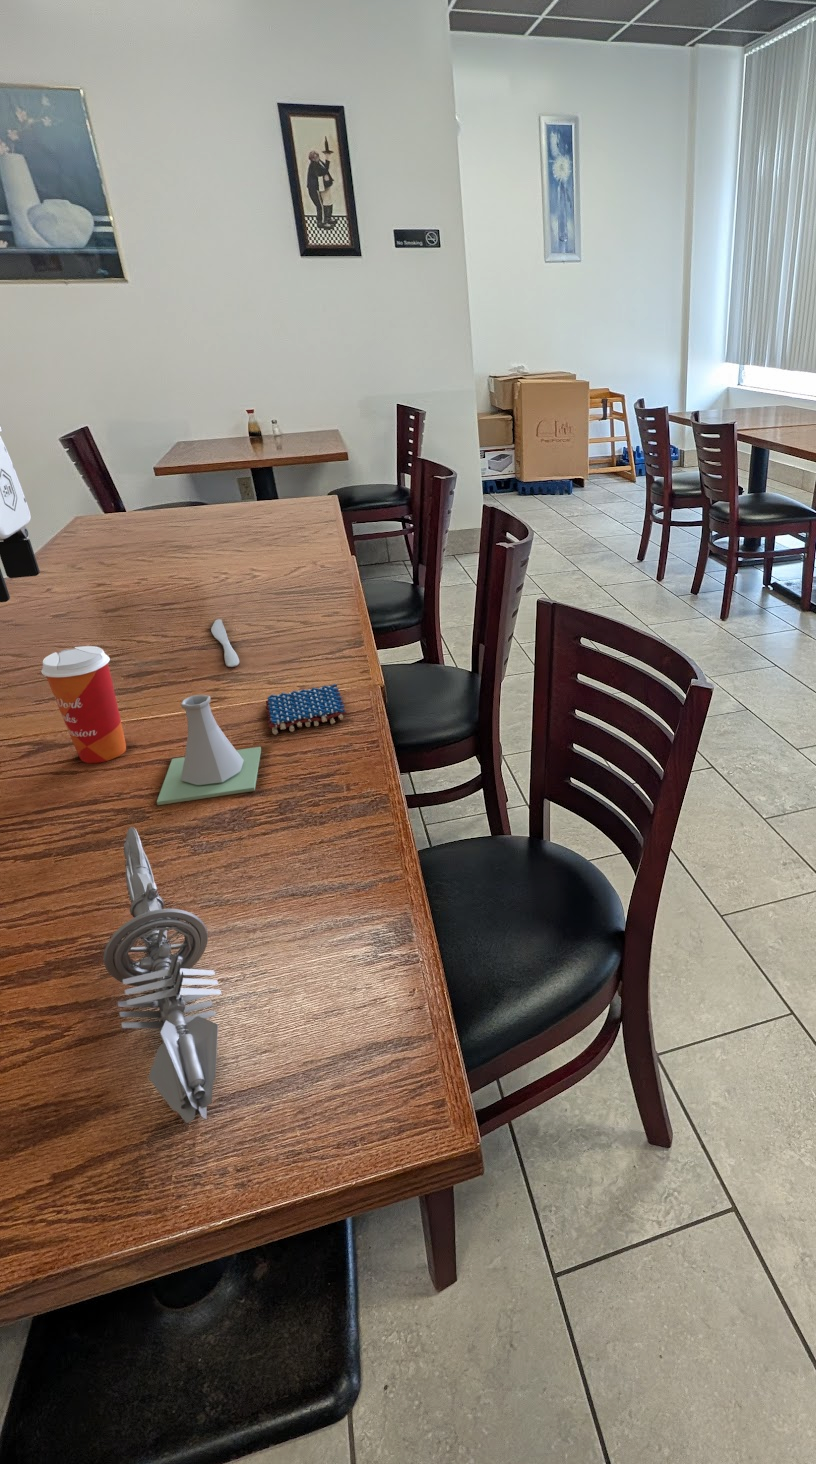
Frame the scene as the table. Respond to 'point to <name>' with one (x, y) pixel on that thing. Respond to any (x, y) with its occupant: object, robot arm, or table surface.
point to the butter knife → (225, 643)
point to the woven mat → (304, 708)
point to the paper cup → (87, 701)
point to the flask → (207, 746)
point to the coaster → (238, 783)
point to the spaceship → (166, 987)
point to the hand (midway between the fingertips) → (9, 588)
